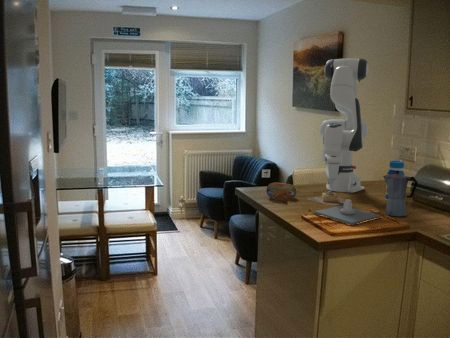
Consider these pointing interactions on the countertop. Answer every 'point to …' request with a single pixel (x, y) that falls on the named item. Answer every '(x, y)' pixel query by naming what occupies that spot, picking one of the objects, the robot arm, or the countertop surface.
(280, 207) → the countertop surface
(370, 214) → the plate
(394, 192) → the moka pot
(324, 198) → the tan square frame
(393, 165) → the beverage bottle
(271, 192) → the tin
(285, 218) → the countertop surface
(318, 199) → the stand
